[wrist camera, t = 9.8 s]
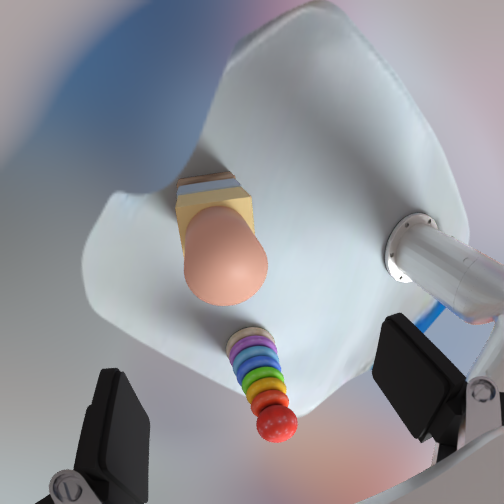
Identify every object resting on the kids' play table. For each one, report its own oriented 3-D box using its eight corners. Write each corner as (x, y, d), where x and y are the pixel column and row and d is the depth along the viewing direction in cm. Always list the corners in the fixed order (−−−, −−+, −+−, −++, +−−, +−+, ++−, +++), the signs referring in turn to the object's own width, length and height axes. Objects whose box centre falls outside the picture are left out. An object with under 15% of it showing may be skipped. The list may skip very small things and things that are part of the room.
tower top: (241, 186, 27) (251, 196, 22) (246, 244, 29) (257, 265, 24) (178, 195, 26) (175, 207, 21) (188, 254, 28) (187, 277, 24)
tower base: (229, 171, 36) (235, 176, 31) (235, 220, 38) (241, 231, 34) (178, 179, 35) (176, 185, 30) (186, 227, 37) (185, 240, 33)
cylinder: (246, 201, 22) (264, 223, 17) (251, 261, 24) (270, 298, 19) (180, 210, 21) (176, 236, 16) (191, 271, 23) (192, 311, 18)
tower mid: (234, 178, 31) (241, 184, 27) (239, 230, 33) (247, 245, 29) (179, 186, 30) (176, 194, 26) (187, 238, 33) (186, 255, 28)
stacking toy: (223, 362, 47) (242, 457, 30) (227, 324, 44) (249, 424, 27) (269, 361, 48) (302, 449, 31) (276, 324, 46) (318, 415, 29)
